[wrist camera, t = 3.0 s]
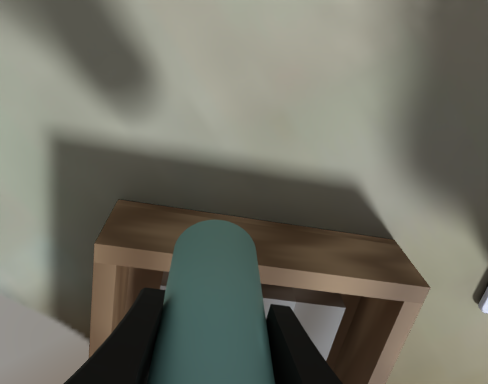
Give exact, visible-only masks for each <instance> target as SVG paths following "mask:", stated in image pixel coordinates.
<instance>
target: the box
mask: <svg viewBox="0 0 488 384" xmlns="http://www.w3.org/2000/svg"><path fill="white" fill-rule="evenodd" d="M206 220H224V221H228V222H231V223H234V224H236V225H238V226H240V227H241V228H243V229H244V230H245V231H246V232H247V233H248V234H249V235H250V237H251V238H252V240H253V242H254V244H255V247H256V254H257V261H258V268H259V275H260V282H261V289H262V296H263V303H264V310H265V317H266V318H267V315H268V311H269V308H270V305H271V304H276V305H284V306H290V307H291V309H292V310H293V312H294V313H295V315H296V317H297V318H298V320H299V321H300V323H301V325H302V326H303V328H304V329H305V331H306V332H307V334H308V336H309V337H310V339H311V340H312V342H313V343H314V345H315V346H316V348H317V349H318V351H319V352H320V353H321V355H322V356H323V358H324V359H325V361H326V362H327V363H328V365H329V366H330V368H331V369H332V370H333V372H334V373H335V374H336V376H337V377H338V378H339V379H340V381H341V382H342V383H343V384H386V382H387V380H388V378H389V376H390V373H391V371H392V369H393V367H394V365H395V363H396V361H397V359H398V356H399V354H400V352H401V350H402V348H403V346H404V344H405V341H406V339H407V337H408V335H409V333H410V331H411V329H412V326H413V324H414V322H415V320H416V318H417V316H418V314H419V311H420V309H421V307H422V305H423V303H424V301H425V299H426V296H427V294H428V292H429V290H430V286H429V285H428V284H427V282H426V281H425V280H424V278H423V277H422V276H421V274H420V273H419V272H418V271H417V269H416V268H415V267H414V265H413V264H412V263H411V261H410V260H409V259H408V257H407V256H406V255H405V253H404V252H403V251H402V249H401V248H400V247H399V245H398V244H397V243H396V241H395V240H393V239H386V238H379V237H372V236H365V235H358V234H352V233H345V232H338V231H331V230H324V229H317V228H311V227H304V226H297V225H290V224H283V223H276V222H270V221H263V220H256V219H249V218H242V217H235V216H229V215H222V214H215V213H208V212H201V211H194V210H188V209H181V208H174V207H167V206H160V205H153V204H147V203H140V202H133V201H126V200H119V199H118V201H117V203H116V205H115V206H114V208H113V210H112V212H111V214H110V216H109V218H108V219H107V221H106V223H105V225H104V227H103V229H102V230H101V232H100V234H99V236H98V238H97V240H96V242H95V243H94V263H93V284H92V304H91V324H90V345H89V358H90V357H91V356H92V355H93V354H94V352H95V351H96V350H97V349H98V348H99V347H100V346H101V345H102V344H103V342H104V341H105V340H106V339H107V338H108V337H109V335H110V334H111V333H112V332H113V330H114V329H115V328H116V327H117V325H118V324H119V323H120V321H121V320H122V319H123V318H124V316H125V315H126V313H127V312H128V310H129V309H130V308H131V306H132V305H133V303H134V301H135V300H136V298H137V296H138V295H139V293H140V291H141V290H142V289H143V288H145V287H146V288H153V289H161V290H165V291H166V286H167V281H168V276H169V271H170V266H171V261H172V256H173V251H174V246H175V244H176V241H177V240H178V238H179V236H180V235H181V234H182V233H183V232H184V231H185V230H186V229H187V228H189V227H190V226H192V225H194V224H196V223H198V222H202V221H206Z"/></svg>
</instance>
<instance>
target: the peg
mask: <svg viewBox="0 0 488 384" xmlns="http://www.w3.org/2000/svg"><path fill="white" fill-rule="evenodd" d="M147 384H275V380H274V373H273V366H272V359H271V352H270V345H269V338H268V331H267V324H266V317H265V310H264V303H263V296H262V289H261V282H260V275H259V268H258V261H257V254H256V247H255V244H254V242H253V240H252V238H251V237H250V235H249V234H248V233H247V232H246V231H245V230H244V229H243V228H241V227H240V226H238V225H236V224H234V223H231V222H228V221H224V220H206V221H202V222H198V223H196V224H194V225H192V226H190V227H189V228H187V229H186V230H185V231H184V232H183V233H182V234H181V235H180V236H179V238H178V240H177V241H176V244H175V246H174V251H173V256H172V261H171V266H170V271H169V276H168V281H167V286H166V291H165V297H164V303H163V309H162V314H161V319H160V324H159V329H158V333H157V337H156V341H155V345H154V350H153V355H152V360H151V365H150V370H149V375H148V380H147Z"/></svg>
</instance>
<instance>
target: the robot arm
mask: <svg viewBox="0 0 488 384" xmlns="http://www.w3.org/2000/svg"><path fill="white" fill-rule="evenodd" d="M164 297H165V290H161V289H153V288H146V287H145V288H143V289H142V290H141V291H140V293H139V295H138V296H137V298H136V300H135V301H134V303H133V305H132V306H131V308H130V309H129V310H128V312H127V313H126V315H125V316H124V318H123V319H122V320H121V321H120V323H119V324H118V325H117V327H116V328H115V329H114V330H113V332H112V333H111V334H110V335H109V337H108V338H107V339H106V340H105V341H104V342H103V344H102V345H101V346H100V347H99V348H98V349H97V350H96V351H95V352H94V354H93V355H92V356H91V357H90V358H89V359H88V360H87V361H86V362H85V363H84V364H83V365H82V366H81V368H79V369H78V370H77V371H76V372H75V373H74V374H73V375H72V376H71V377H70V378H69V379H68V380H67V381H66V382H65V383H64V384H147V380H148V375H149V370H150V365H151V360H152V355H153V350H154V345H155V341H156V337H157V333H158V329H159V324H160V319H161V314H162V309H163V303H164ZM478 306H479V308H480V310H481V311H482V312H484V313H488V287H487V289H486V291H485V293H484V295H483V297H482V299H481V300H480V302H479V305H478ZM266 324H267V331H268V338H269V345H270V352H271V359H272V366H273V373H274V380H275V384H343V383H342V382H341V381H340V379H339V378H338V377H337V376H336V374H335V373H334V372H333V370H332V369H331V368H330V366H329V365H328V363H327V362H326V361H325V359H324V358H323V356H322V355H321V353H320V352H319V351H318V349H317V348H316V346H315V345H314V343H313V342H312V340H311V339H310V337H309V336H308V334H307V332H306V331H305V329H304V328H303V326H302V325H301V323H300V321H299V320H298V318H297V317H296V315H295V313H294V312H293V310H292V309H291V307H290V306H284V305H276V304H271V305H270V308H269V311H268V315H267V318H266Z"/></svg>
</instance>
